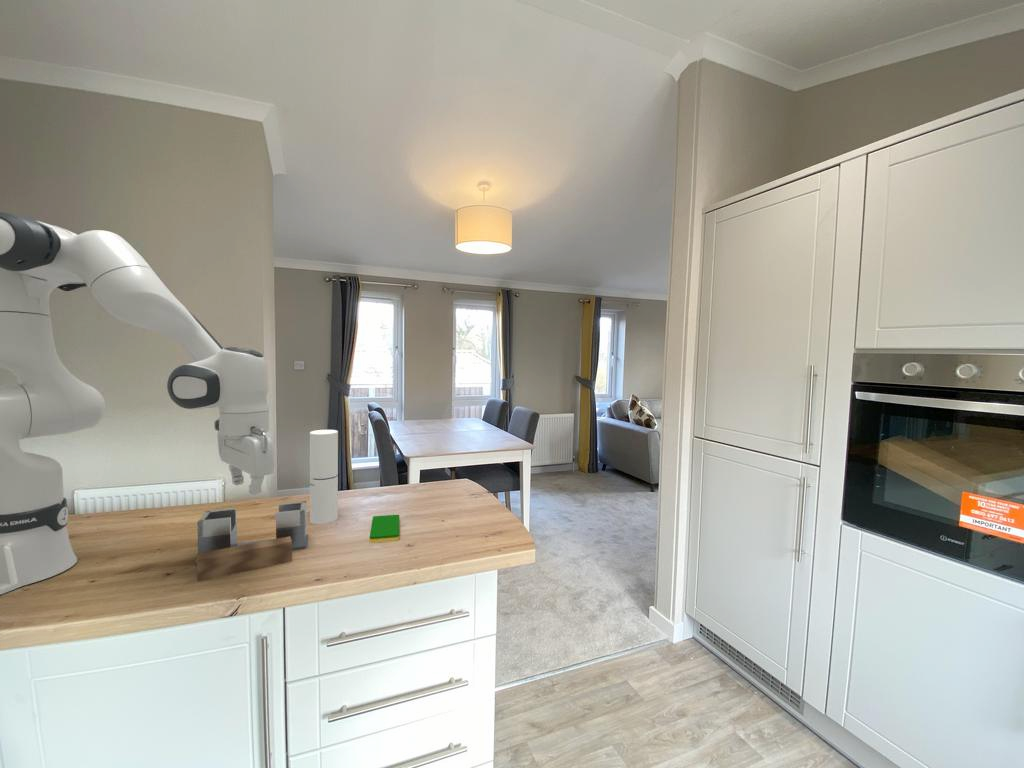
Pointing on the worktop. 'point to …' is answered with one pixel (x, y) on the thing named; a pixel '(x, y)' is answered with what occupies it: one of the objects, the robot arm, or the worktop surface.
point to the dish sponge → (384, 528)
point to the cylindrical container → (323, 476)
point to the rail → (243, 558)
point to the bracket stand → (222, 533)
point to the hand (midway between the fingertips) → (246, 488)
